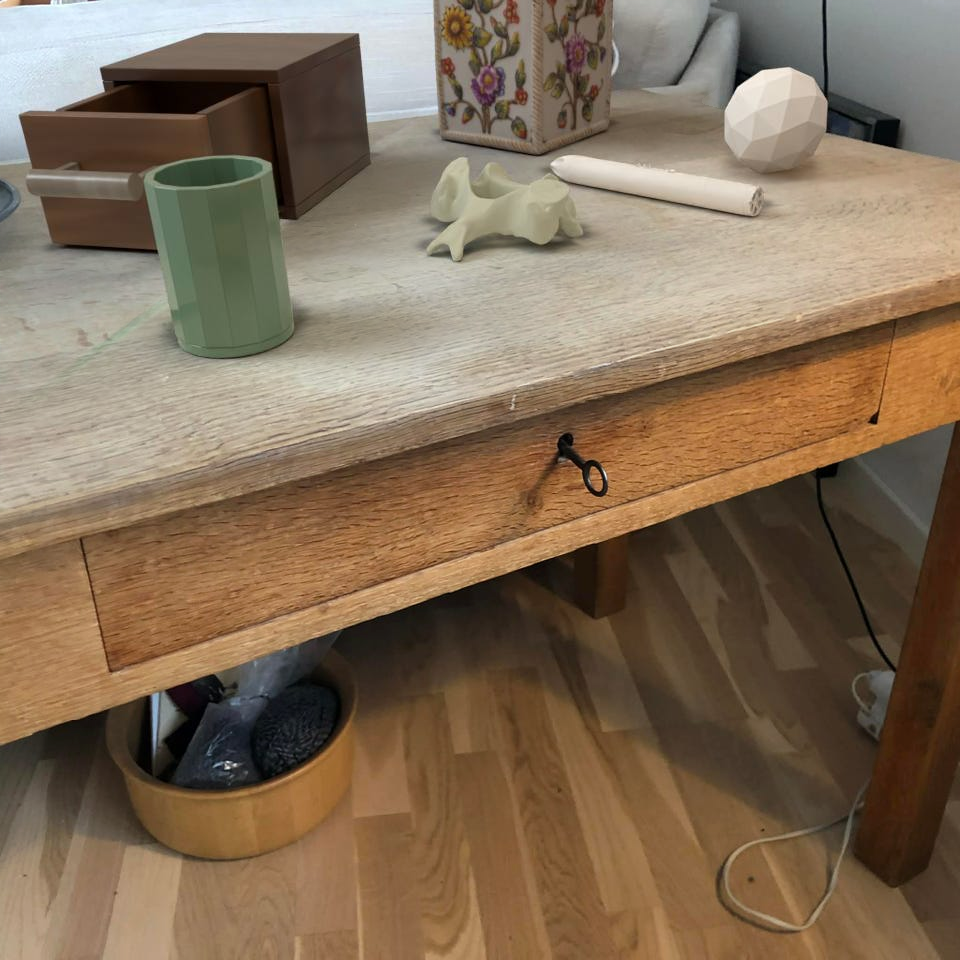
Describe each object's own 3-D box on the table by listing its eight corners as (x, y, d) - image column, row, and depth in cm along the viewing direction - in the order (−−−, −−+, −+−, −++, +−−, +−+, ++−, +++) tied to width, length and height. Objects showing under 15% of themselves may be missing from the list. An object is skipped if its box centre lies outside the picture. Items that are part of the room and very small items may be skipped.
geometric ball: (766, 211, 81) (747, 142, 74) (718, 153, 85) (696, 84, 79) (853, 157, 80) (841, 82, 73) (799, 102, 84) (783, 26, 78)
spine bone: (381, 264, 71) (366, 200, 67) (471, 199, 76) (462, 137, 72) (517, 310, 64) (508, 241, 61) (606, 235, 69) (602, 168, 66)
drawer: (188, 278, 62) (160, 136, 57) (10, 266, 65) (-29, 130, 60) (310, 189, 77) (295, 72, 73) (162, 183, 80) (140, 70, 76)
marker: (541, 180, 81) (541, 150, 79) (557, 174, 82) (557, 145, 81) (748, 220, 71) (752, 186, 69) (762, 212, 72) (766, 179, 71)
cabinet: (297, 219, 74) (277, 69, 69) (130, 210, 78) (98, 67, 72) (371, 162, 87) (359, 32, 82) (225, 157, 91) (204, 32, 85)
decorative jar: (538, 157, 87) (537, -83, 77) (435, 140, 93) (422, -84, 84) (614, 129, 94) (621, -93, 85) (514, 115, 101) (510, -93, 91)
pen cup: (155, 353, 55) (118, 186, 50) (212, 307, 60) (183, 153, 55) (264, 363, 53) (236, 192, 49) (312, 315, 59) (292, 156, 54)
